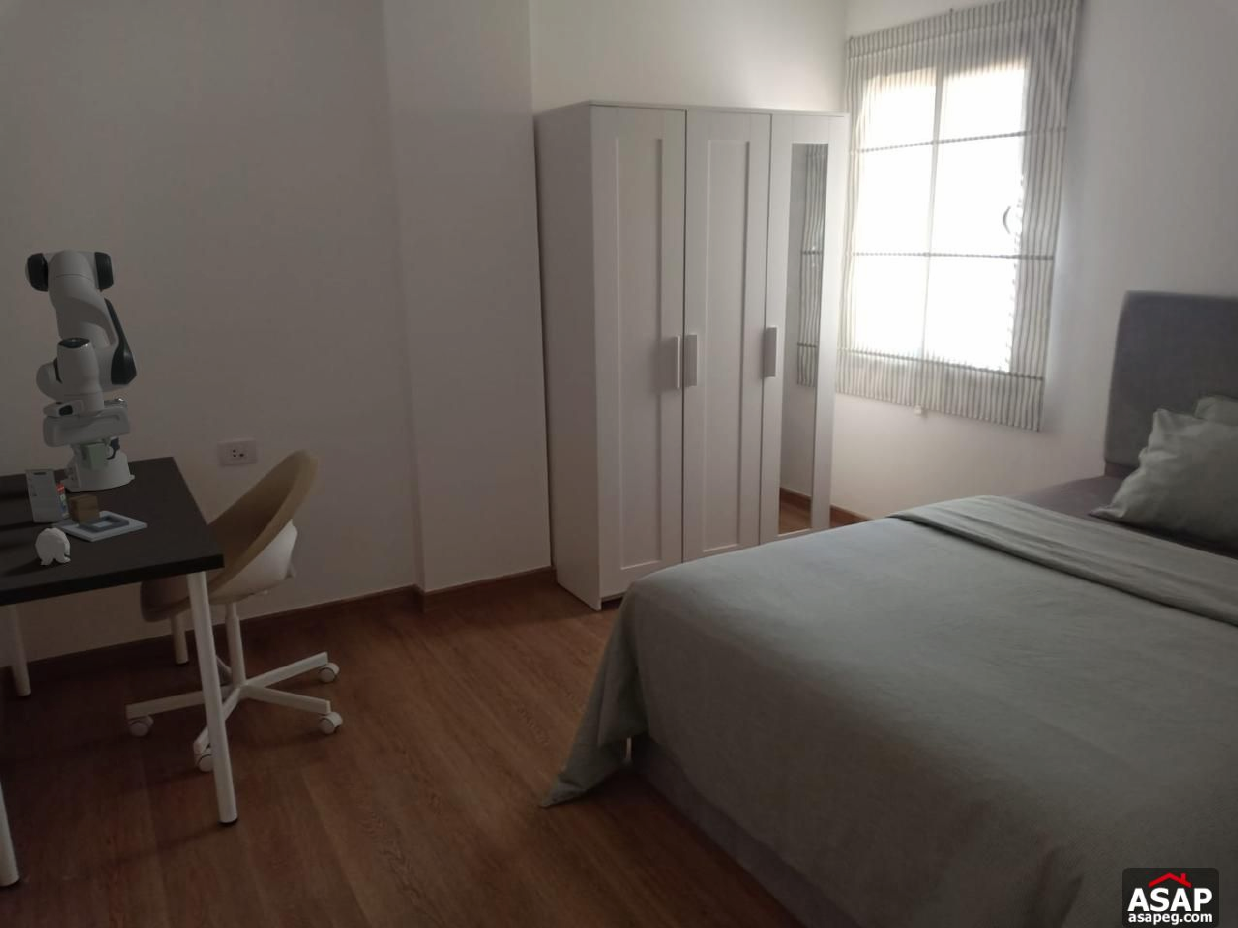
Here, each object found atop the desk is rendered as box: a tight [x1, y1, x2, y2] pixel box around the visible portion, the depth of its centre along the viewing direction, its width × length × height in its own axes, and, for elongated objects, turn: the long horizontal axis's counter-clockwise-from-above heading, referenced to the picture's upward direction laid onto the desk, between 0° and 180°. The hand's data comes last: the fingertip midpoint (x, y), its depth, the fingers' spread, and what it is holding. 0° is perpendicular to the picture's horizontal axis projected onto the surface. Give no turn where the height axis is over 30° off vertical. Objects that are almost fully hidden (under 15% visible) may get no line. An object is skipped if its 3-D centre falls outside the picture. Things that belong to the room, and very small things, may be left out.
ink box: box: [25, 468, 71, 523], centre depth 257 cm, size 4×8×15 cm, turn 90°
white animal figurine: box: [34, 527, 71, 566], centre depth 226 cm, size 6×8×12 cm
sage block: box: [78, 441, 108, 470], centre depth 245 cm, size 6×4×6 cm, turn 53°
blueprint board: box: [51, 493, 148, 543], centre depth 250 cm, size 22×14×7 cm, turn 53°
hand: (93, 457), depth 245 cm, fingers closed on sage block, 4 cm apart
